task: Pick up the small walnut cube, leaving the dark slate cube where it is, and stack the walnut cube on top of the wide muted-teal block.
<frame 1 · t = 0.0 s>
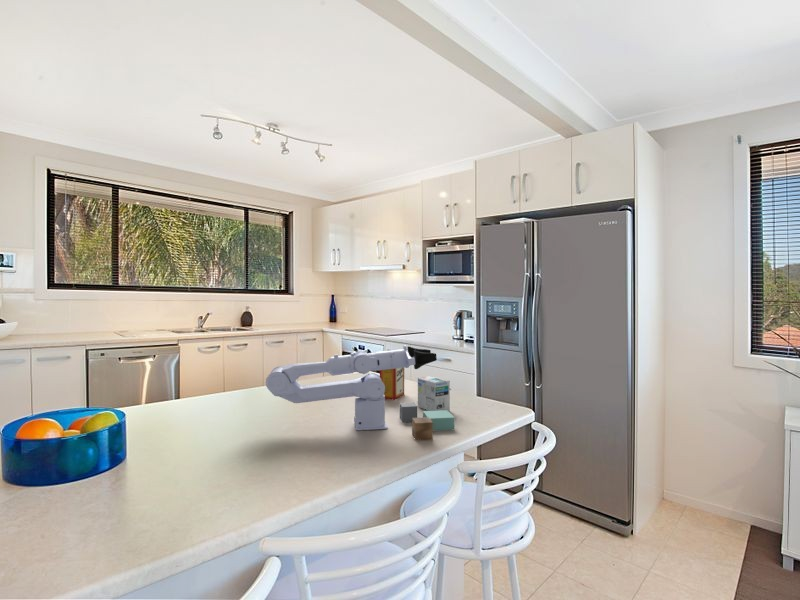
hand: (433, 355, 135), 22 cm above the worktop, tool horizontal, fingers open, 7 cm apart
baking soda box: (392, 396, 170), on the worktop
walnut cube: (422, 437, 123), on the worktop
light bulb box: (433, 409, 152), on the worktop
teal base block: (438, 427, 133), on the worktop
slate cube: (408, 419, 140), on the worktop
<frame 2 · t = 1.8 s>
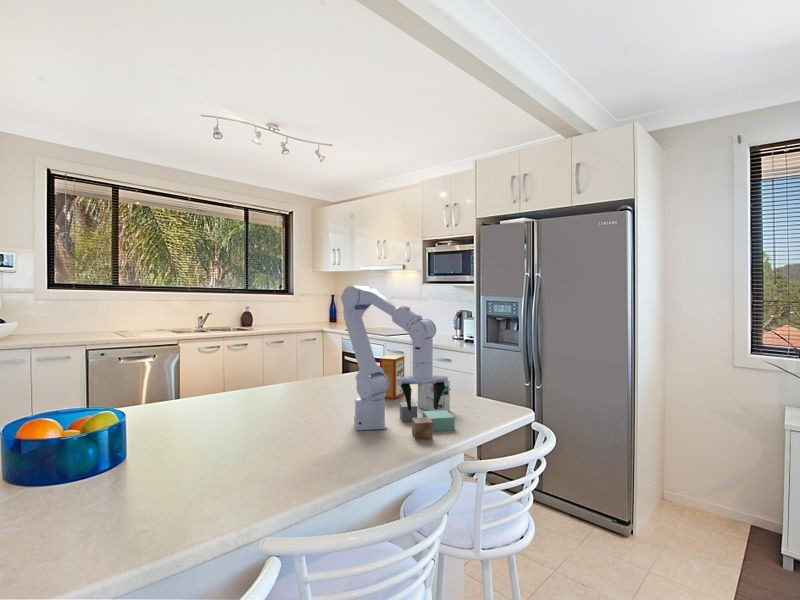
hand: (422, 409, 123), 8 cm above the worktop, tool pointing down, fingers open, 7 cm apart
nothing on the worktop moved.
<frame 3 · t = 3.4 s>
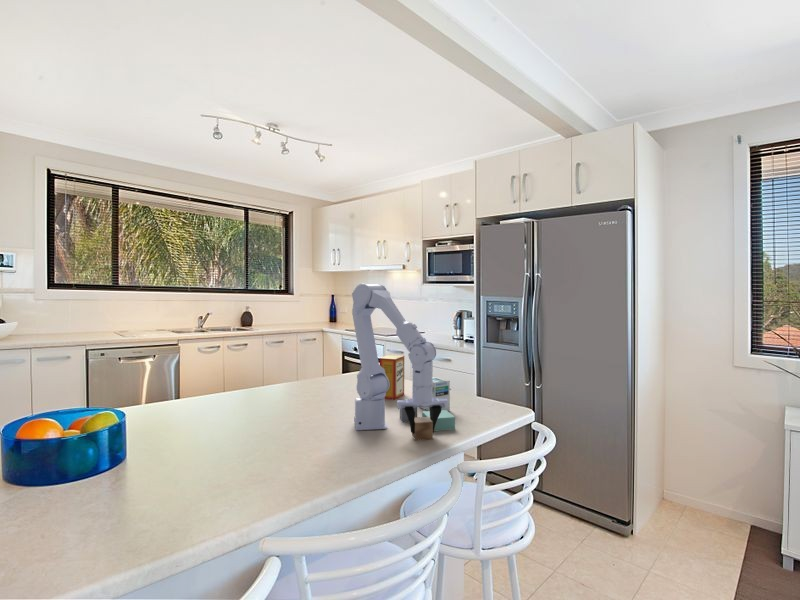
hand: (422, 432, 123), 1 cm above the worktop, tool pointing down, fingers closed on walnut cube, 5 cm apart
walnut cube: (422, 437, 123), on the worktop, touching gripper
everything else where it was.
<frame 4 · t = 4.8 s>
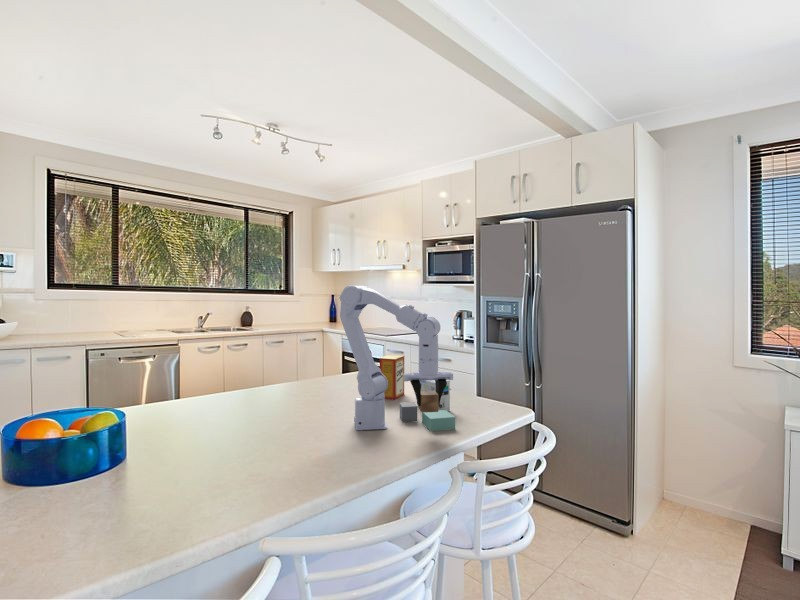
hand: (428, 404, 126), 8 cm above the worktop, tool pointing down, fingers closed on walnut cube, 5 cm apart
walnut cube: (428, 409, 126), point 7 cm above the worktop, touching gripper
everything else where it was.
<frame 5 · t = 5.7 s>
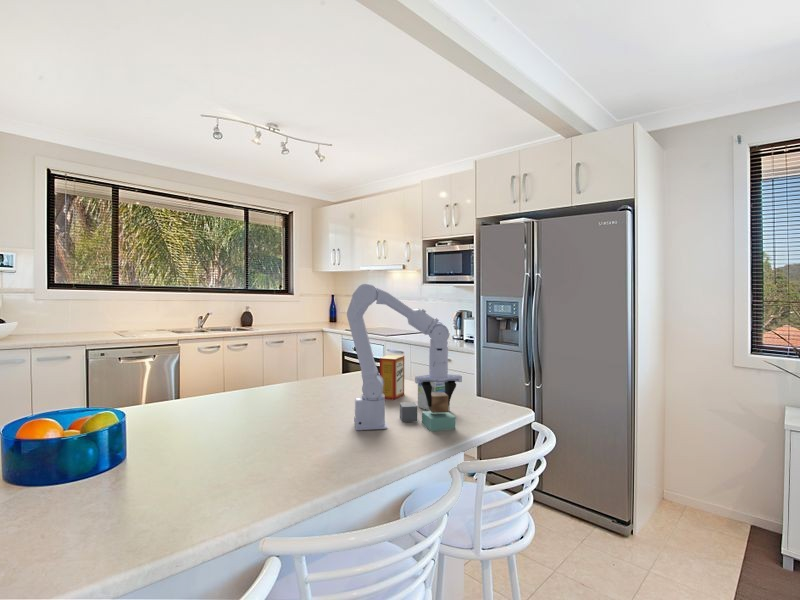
hand: (438, 405, 133), 6 cm above the worktop, tool pointing down, fingers closed on walnut cube, 5 cm apart
walnut cube: (438, 410, 133), point 5 cm above the worktop, touching gripper
everything else where it was.
when the fingers open (6 cm above the worktop, at t = 6.5 s): walnut cube drops 1 cm, point 4 cm above the worktop.
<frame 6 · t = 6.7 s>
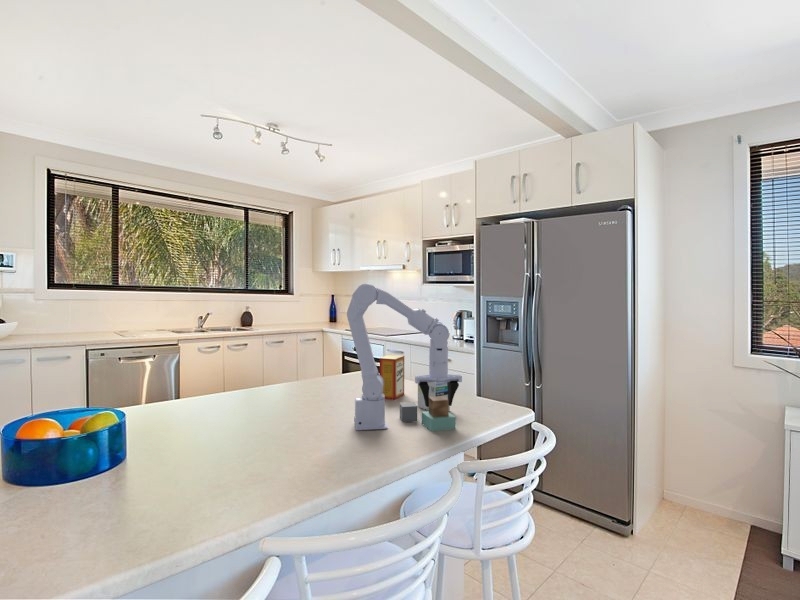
hand: (438, 405, 133), 6 cm above the worktop, tool pointing down, fingers open, 7 cm apart
walnut cube: (438, 414, 133), point 4 cm above the worktop
everything else where it was.
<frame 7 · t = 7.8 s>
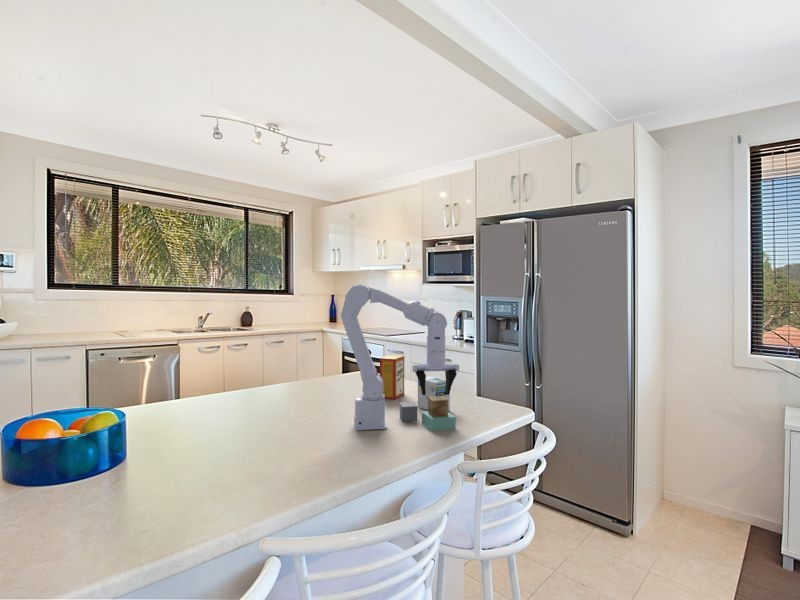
hand: (435, 394, 134), 10 cm above the worktop, tool pointing down, fingers open, 7 cm apart
nothing on the worktop moved.
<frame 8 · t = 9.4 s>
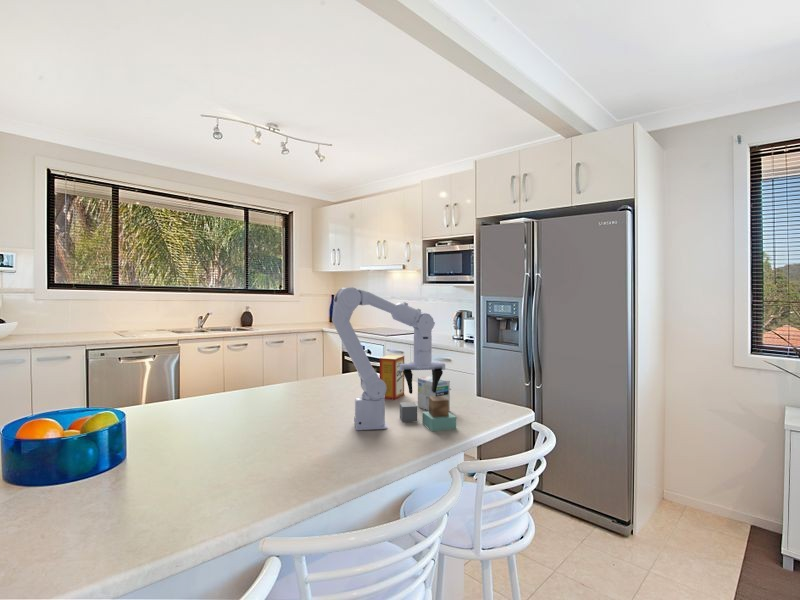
hand: (422, 392, 137), 9 cm above the worktop, tool pointing down, fingers open, 7 cm apart
nothing on the worktop moved.
at the end: walnut cube 0.2 cm off-centre on the teal base block, point 4.0 cm above the teal base block's base; walnut cube tilted 0°; the gripper is holding nothing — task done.
